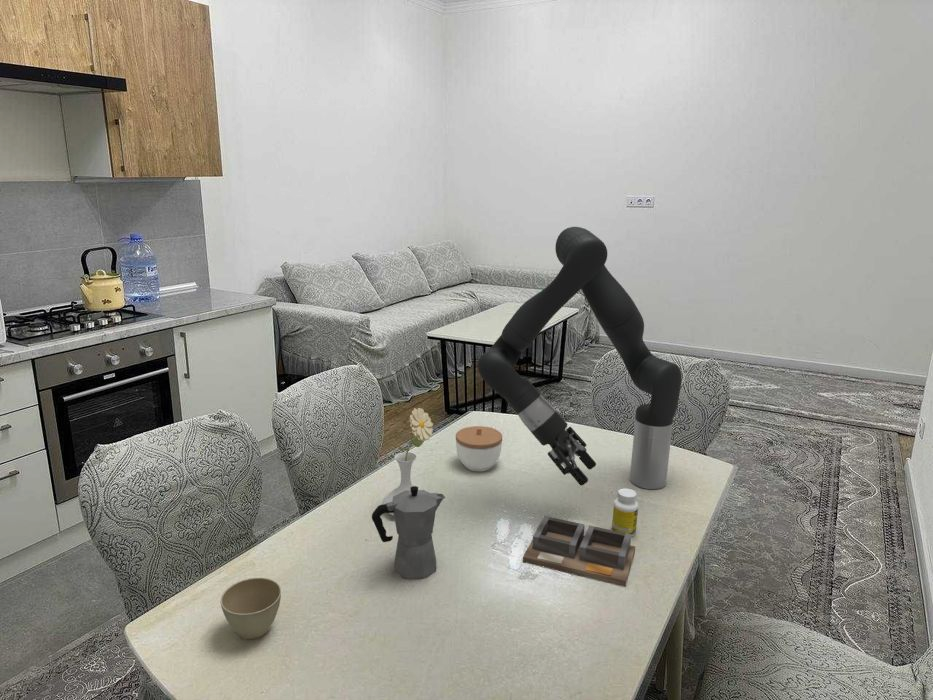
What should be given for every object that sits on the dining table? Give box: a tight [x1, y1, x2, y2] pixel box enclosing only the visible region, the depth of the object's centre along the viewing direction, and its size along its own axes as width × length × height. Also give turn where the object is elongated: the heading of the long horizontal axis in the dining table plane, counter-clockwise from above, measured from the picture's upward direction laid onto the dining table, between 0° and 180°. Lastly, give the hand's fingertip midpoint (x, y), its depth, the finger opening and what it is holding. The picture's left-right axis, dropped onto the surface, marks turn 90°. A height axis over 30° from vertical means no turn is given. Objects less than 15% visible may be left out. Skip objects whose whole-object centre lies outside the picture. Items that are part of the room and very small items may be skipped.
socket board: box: [522, 515, 636, 587], centre depth 136 cm, size 13×21×4 cm, turn 68°
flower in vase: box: [381, 407, 434, 517], centre depth 151 cm, size 13×11×25 cm
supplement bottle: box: [610, 488, 639, 538], centre depth 145 cm, size 5×5×10 cm
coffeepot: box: [371, 485, 446, 580], centre depth 130 cm, size 15×9×18 cm, turn 116°
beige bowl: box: [220, 577, 282, 640], centre depth 113 cm, size 10×10×7 cm
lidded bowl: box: [455, 425, 503, 472], centre depth 176 cm, size 13×13×11 cm
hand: (589, 475), depth 146 cm, fingers open, 8 cm apart
